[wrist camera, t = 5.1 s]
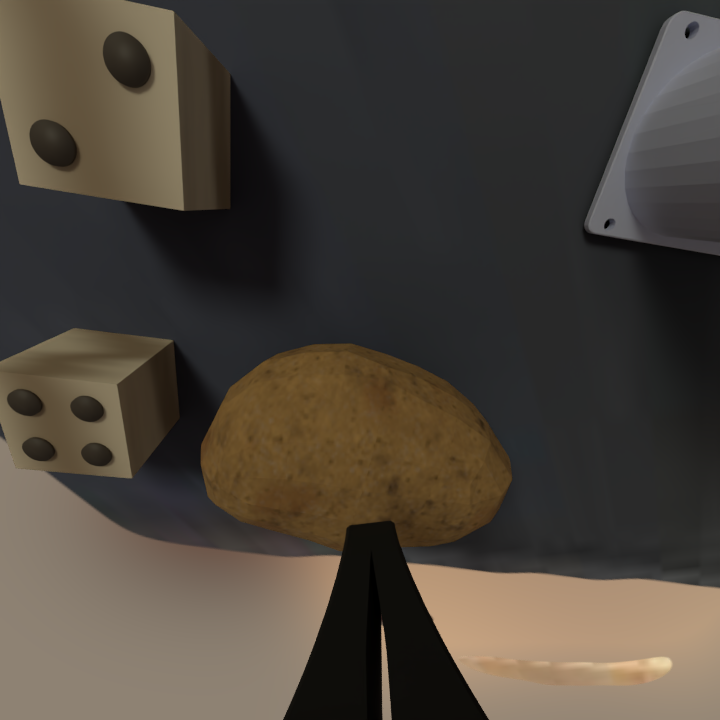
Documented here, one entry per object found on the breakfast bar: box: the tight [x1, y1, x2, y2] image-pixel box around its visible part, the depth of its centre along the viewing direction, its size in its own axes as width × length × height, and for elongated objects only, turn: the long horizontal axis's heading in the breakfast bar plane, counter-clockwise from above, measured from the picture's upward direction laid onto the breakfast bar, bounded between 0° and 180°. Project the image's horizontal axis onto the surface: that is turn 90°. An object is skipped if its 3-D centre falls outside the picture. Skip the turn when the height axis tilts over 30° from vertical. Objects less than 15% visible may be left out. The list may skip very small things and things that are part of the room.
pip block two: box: [0, 0, 230, 211], centre depth 12 cm, size 5×5×5 cm
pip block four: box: [0, 328, 180, 478], centre depth 17 cm, size 5×5×5 cm
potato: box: [201, 344, 512, 551], centre depth 17 cm, size 10×14×8 cm
